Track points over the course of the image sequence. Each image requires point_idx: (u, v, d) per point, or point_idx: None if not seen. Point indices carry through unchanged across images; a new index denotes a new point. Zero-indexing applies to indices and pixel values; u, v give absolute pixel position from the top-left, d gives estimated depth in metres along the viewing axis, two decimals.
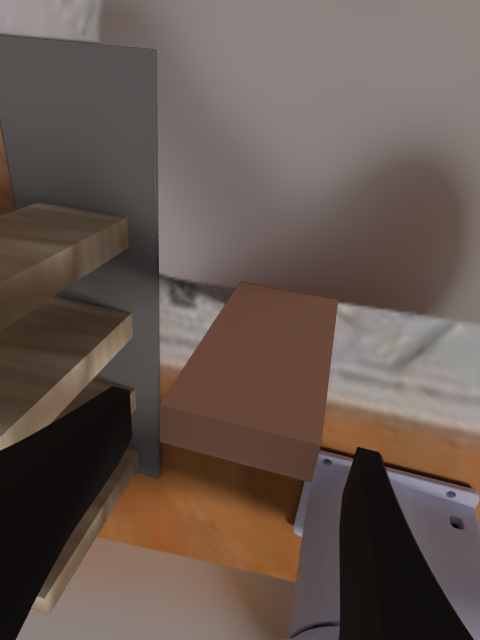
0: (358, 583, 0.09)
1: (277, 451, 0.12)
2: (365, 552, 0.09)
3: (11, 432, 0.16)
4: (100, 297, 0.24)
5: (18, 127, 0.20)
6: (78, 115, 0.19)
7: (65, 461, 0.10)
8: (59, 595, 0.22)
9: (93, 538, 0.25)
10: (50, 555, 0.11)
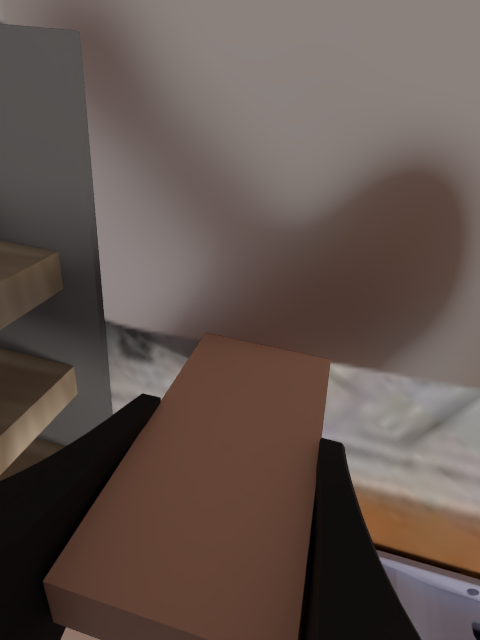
0: (311, 569, 0.09)
1: None
2: (317, 538, 0.09)
3: None
4: (35, 346, 0.19)
5: None
6: None
7: (102, 473, 0.10)
8: None
9: None
10: None
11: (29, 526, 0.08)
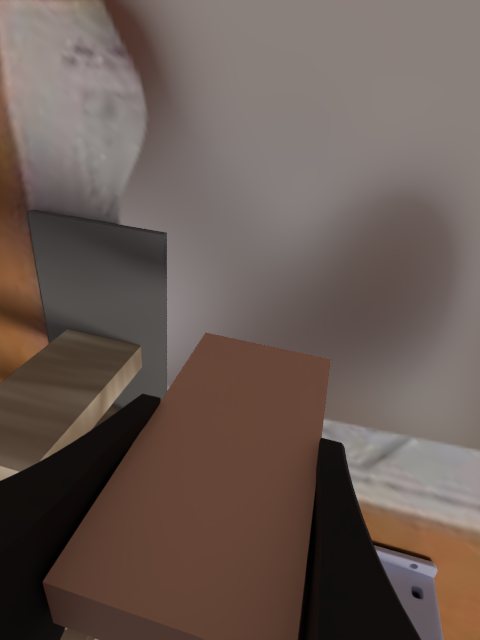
0: (311, 568, 0.09)
1: None
2: (317, 538, 0.09)
3: None
4: (117, 400, 0.28)
5: (52, 276, 0.24)
6: (102, 272, 0.23)
7: (102, 472, 0.10)
8: None
9: None
10: None
11: (29, 526, 0.08)
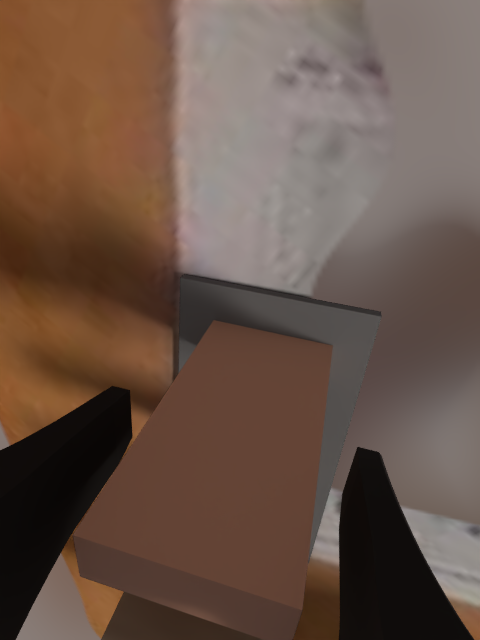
0: (358, 583, 0.09)
1: (240, 608, 0.09)
2: (364, 552, 0.09)
3: None
4: None
5: None
6: None
7: (65, 461, 0.10)
8: None
9: None
10: (50, 555, 0.11)
11: None
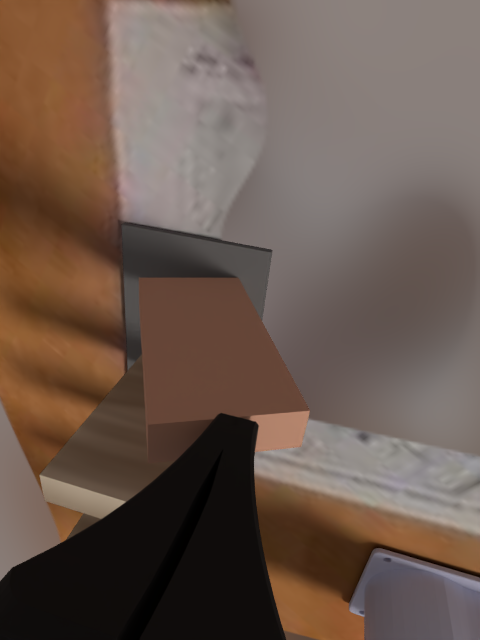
0: None
1: (271, 429, 0.13)
2: None
3: None
4: None
5: None
6: None
7: (200, 500, 0.10)
8: None
9: None
10: None
11: (155, 567, 0.07)
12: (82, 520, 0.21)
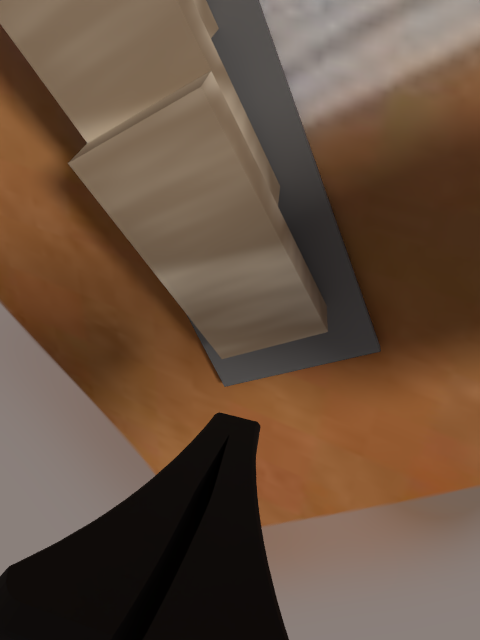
0: None
1: None
2: None
3: None
4: None
5: None
6: None
7: (197, 500, 0.10)
8: (218, 116, 0.12)
9: (267, 210, 0.14)
10: None
11: (152, 566, 0.07)
12: None
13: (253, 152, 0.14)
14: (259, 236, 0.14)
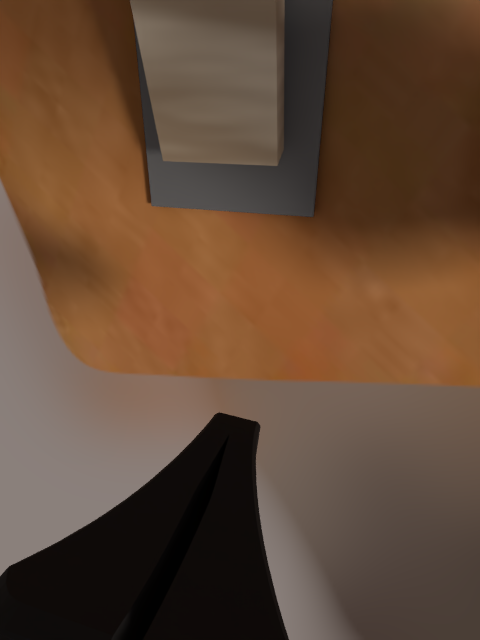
0: None
1: None
2: None
3: None
4: None
5: None
6: None
7: (197, 500, 0.10)
8: None
9: None
10: None
11: (152, 566, 0.07)
12: None
13: None
14: (257, 9, 0.13)
